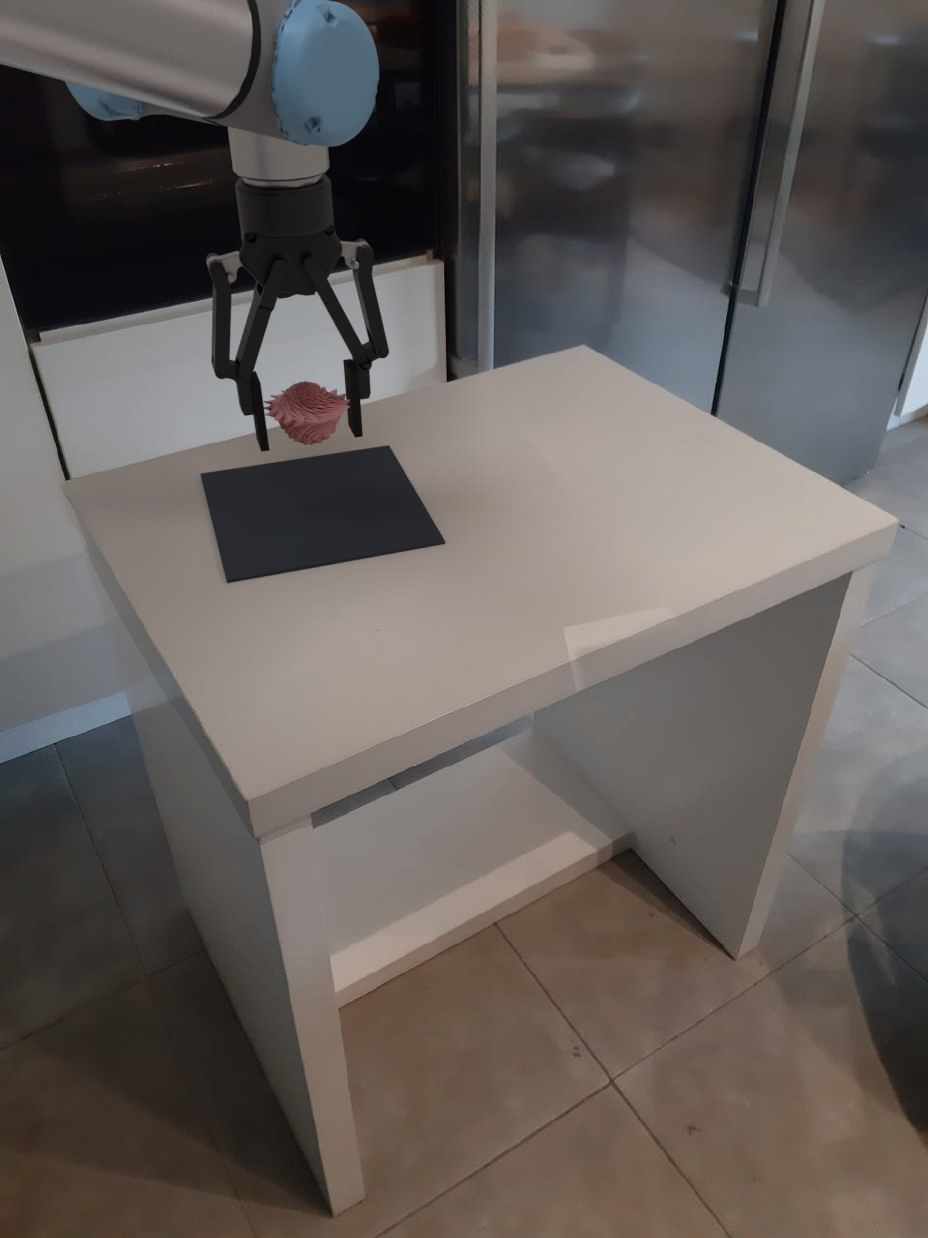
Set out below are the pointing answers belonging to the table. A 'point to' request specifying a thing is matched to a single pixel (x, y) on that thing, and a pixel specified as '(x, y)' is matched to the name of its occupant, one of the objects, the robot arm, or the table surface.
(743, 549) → the table surface
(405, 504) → the mat
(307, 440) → the flower
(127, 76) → the robot arm
